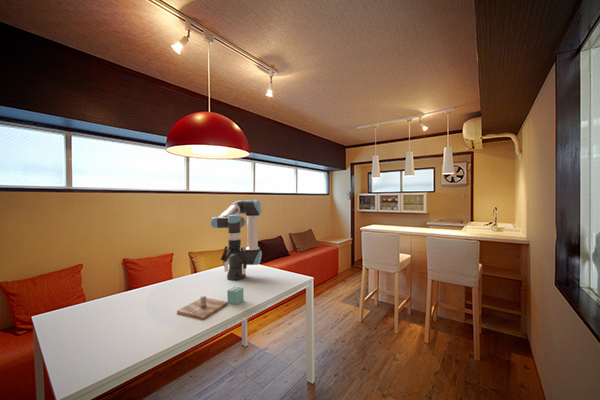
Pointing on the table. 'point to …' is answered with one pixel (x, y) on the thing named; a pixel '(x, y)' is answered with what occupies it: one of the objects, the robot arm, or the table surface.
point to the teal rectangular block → (235, 295)
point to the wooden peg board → (202, 308)
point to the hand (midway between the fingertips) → (235, 272)
